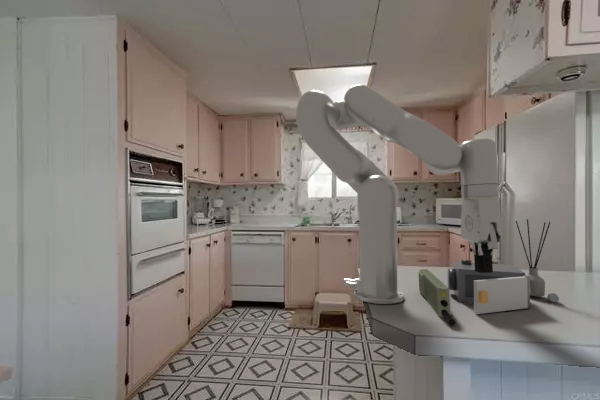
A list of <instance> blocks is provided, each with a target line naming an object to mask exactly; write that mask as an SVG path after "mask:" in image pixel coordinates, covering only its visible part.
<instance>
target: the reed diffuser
mask: <svg viewBox="0 0 600 400" xmlns="http://www.w3.org/2000/svg"><path fill="white" fill-rule="evenodd" d="M515 224H516V228H517V230H518V233H519V236H520V239H521V243H522V246H523V250H524V252H525V256H526V260H527V263H528V274H526V275H527V276H530V296H533V297H544V296H545V292H546V282H545V281H546V280H544V278H543V277H541V276H540V275H539V272H538V271H539V268H538V267H537V266H538V263H539V259H540V257H541V254H542V251H543V248H544V244H545V241H546V237H547V234H548V231H549V228H550V226H551V222H550V221H549V222H548V224H547V222H544V223H543V226H542V227H543V228H542V231H541V236H540V238H539V239H540V240H539V243H538V244H539V245H538V249H537V251H536V252H537V254H536V257H535V262H534V265H533V262H532V251H531V250H532V249H531V239H530V238H531V237H530V236H531V235H530V226H529V225H530V224H529V219H526V224H527V225H526V226H527V234H528V235H527V236H528V237H527V238H528V247H529V248H528V249H529V256H528V253H527V250H526V247H525V243H524V239H523V236H522V233H521V230H520V227H519V224H518V220H515ZM546 224H547V228H546V231H545V227H546ZM544 231H545V234H544ZM543 235H544V237H543ZM546 299H547V300H548V301H549V302H550V303H558V302H559V300H560V298H559V296H558V294H557V293H555V292H551V293H548V294H547V298H546Z"/></svg>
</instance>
